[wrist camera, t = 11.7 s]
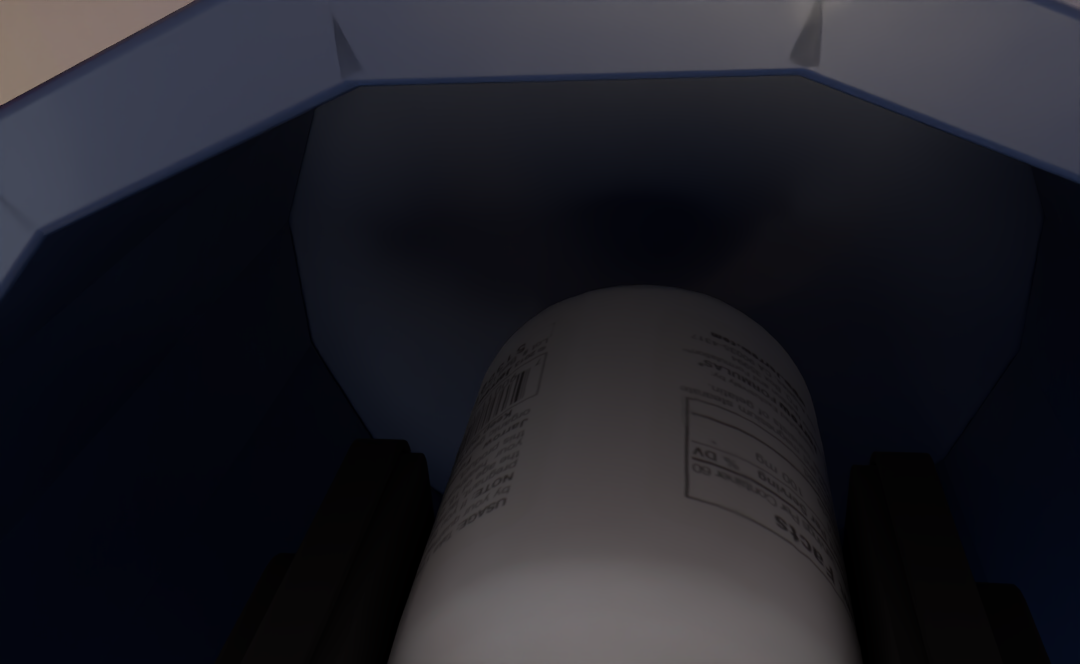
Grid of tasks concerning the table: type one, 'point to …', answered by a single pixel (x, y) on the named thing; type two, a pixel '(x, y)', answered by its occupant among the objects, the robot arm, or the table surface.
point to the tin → (514, 266)
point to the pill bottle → (635, 499)
